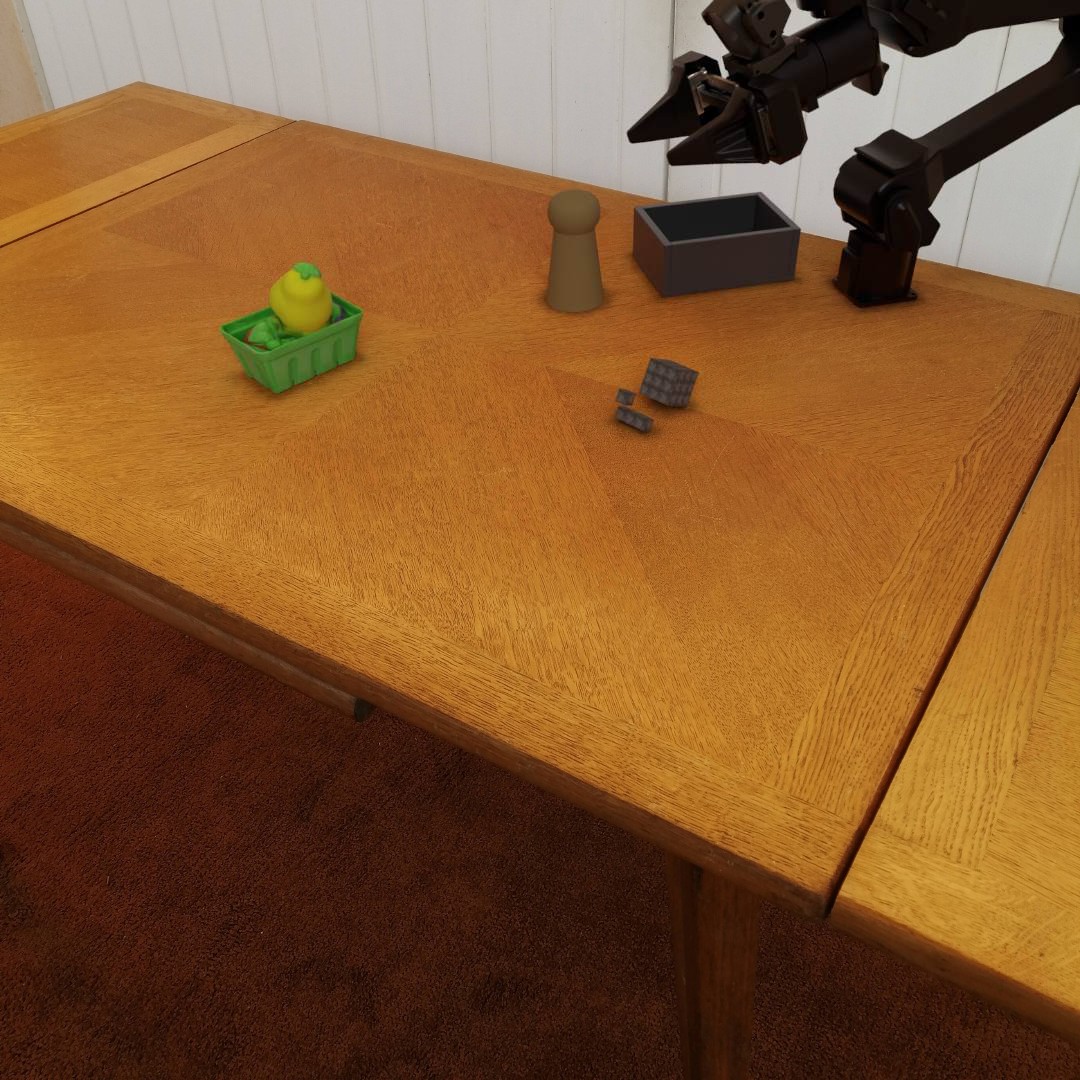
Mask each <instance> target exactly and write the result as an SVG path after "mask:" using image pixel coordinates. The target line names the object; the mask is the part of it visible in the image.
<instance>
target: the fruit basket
mask: <svg viewBox="0 0 1080 1080" xmlns="http://www.w3.org/2000/svg"><path fill="white" fill-rule="evenodd" d="M322 276H323V275H322V272H321V270H320V269H319V268H318V266H317V265H316V264H313V263H309V262H307V261H301V262H297V263H296V264H293V266H292V268H291V269H290V270H288V271H287V272H286V273H285V274H284V275H282V276H281V277H279V278H278V280H277V281H276V282H275V283H274V284H273V285H271V288H270V290H269V293H268V305H269V306H266V307H264V308H261V309H259V310H256V311H254V312H252V313H249V314H247V315H243V316H241V317H239V318H237V319H234V320H231V321H229V322H226V323H223V324H221V326H220V327H219V332H220V334H221V335H222V336H223V338H224V340H225V341H227V342H228V344H229V346H230V348H231V349H232V352H233V353H234V355H235V356H236V358H237V360H238V362H239V363H240V365H241V367H242V369H243V370H244V372H245V374H246V375H247V376H248V377H249V378H253V379H254V381H255V382H257V383H259V384H260V385H261V386H263V387H264V388H266V389H268V390H269V389H270V390H271V392H272V393H274V394H275V395H276V394H280V393H282V392H285V391H286V390H289V389H291V388H292V387H294V386H296V385H300V384H302V383H304V382H307V381H309V380H311V379H313V378H315V376H318V375H323V374H324V373H327V372H329V371H331V370H333V369H335V368H337V366H342V365H345V364H347V363H349V362H351V361H353V360H355V358H356V351H357V346H358V345H357V344H358V339H359V338H358V337H359V332H360V323H361V322H362V319H363V313H364V310H363V309H362V308H361V307H359V306H356V305H355V304H353V303H352V302H350V301H348V300H346V299H344V298H343V297H341V296H339V295H337V294H335V293H334V292H332V291H331V290H330V288H329V285H327V283H326V282H325V281H324V280H323V278H322Z"/></svg>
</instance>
